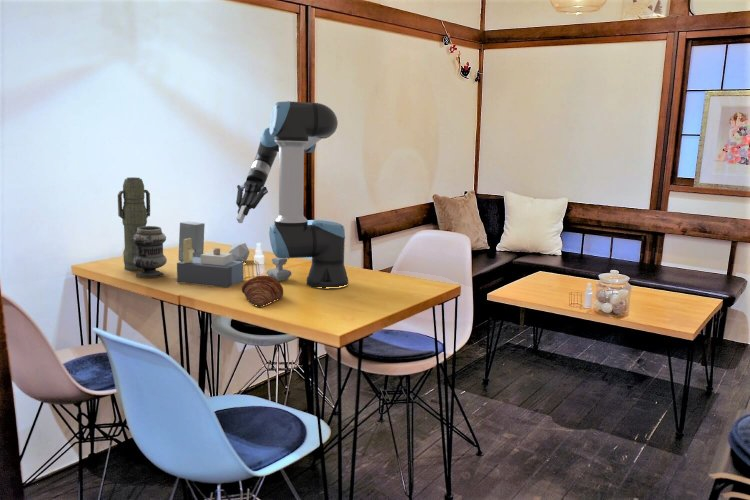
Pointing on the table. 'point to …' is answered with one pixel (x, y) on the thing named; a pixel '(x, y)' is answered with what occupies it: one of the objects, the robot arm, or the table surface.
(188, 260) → the tan upright block
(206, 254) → the light grey block
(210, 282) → the box
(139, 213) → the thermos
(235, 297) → the table surface
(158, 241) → the apothecary jar
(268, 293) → the brown ridged rounded piece
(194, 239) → the skincare box
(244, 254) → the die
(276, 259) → the stamp
